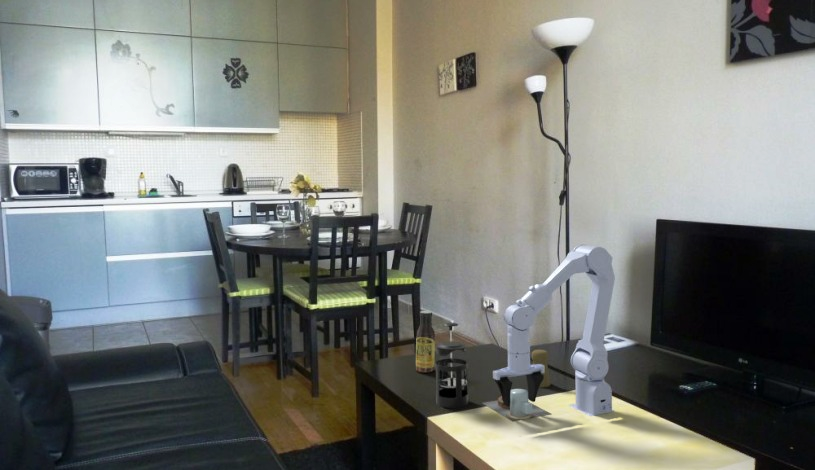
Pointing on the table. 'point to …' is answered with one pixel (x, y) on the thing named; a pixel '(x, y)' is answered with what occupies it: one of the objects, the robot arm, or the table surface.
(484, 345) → the table surface
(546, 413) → the board
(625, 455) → the table surface
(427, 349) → the sauce bottle
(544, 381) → the pepper shaker
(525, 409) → the white ceramic mug
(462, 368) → the french press
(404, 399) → the table surface
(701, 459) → the table surface
